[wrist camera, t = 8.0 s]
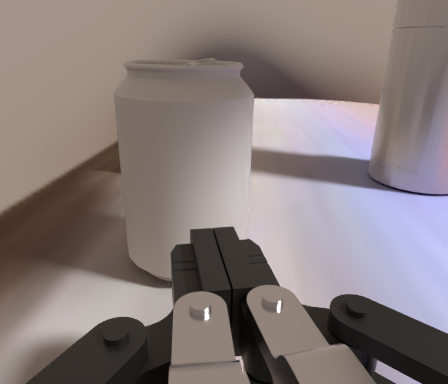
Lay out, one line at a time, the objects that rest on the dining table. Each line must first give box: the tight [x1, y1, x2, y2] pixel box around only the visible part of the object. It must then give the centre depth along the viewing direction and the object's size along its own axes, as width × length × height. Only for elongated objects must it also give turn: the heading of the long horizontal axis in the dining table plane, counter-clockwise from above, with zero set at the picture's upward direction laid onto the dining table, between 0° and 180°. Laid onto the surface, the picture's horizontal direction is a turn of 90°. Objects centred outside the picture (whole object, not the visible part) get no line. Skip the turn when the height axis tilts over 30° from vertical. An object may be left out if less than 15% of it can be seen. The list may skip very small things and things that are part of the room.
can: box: [114, 58, 254, 282], centre depth 22 cm, size 8×8×12 cm
